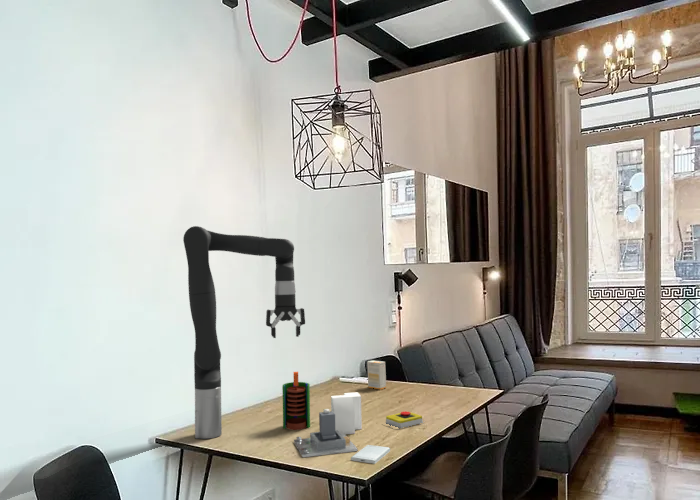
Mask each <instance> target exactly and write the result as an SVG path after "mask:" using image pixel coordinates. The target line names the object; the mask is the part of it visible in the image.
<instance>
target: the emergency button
mask: <svg viewBox="0 0 700 500" xmlns="http://www.w3.org/2000/svg"><path fill="white" fill-rule="evenodd" d="M423 421H424V420H423V416H422V415H420V414H418V413H415V412H411V411H400V412H399V413H394V414H390V415H386V417H385V423H386V424H389V425H390V426H391V425H392V426H395V427H398V428H403V427H407V428H409V427H408V426H411V427H413V426H412V425H415V426H417V425H416V424H419V425H421V424H420V423H423ZM423 424H424V423H423ZM403 429H404V428H403Z"/></svg>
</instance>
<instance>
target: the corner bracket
mask: <svg viewBox="0 0 700 500" xmlns="http://www.w3.org/2000/svg"><path fill="white" fill-rule="evenodd" d="M330 398H331V399H330V405H331V406H330V409H331V410H330V411H332V412H333V413H334V414H335V430H338V431H339V433H340V434H341V435H342V434H345V435H352V434H356V430H362V428H363V427H362V426H363V423H362V421H363V420H362V419H363V418H362V396H361V394H360V392H357V391H356V392H344V393H343V394H341V395H331V396H330Z"/></svg>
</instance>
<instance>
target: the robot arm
mask: <svg viewBox="0 0 700 500" xmlns="http://www.w3.org/2000/svg"><path fill="white" fill-rule="evenodd" d="M182 239H183V244H184V250H185V255H186V260H187V268H188V270H187V271H188V272H187V273H188V275H187V277H188V280H187V281H188V282H187V283H188V284H187V285H188V299H189V300H188V301H189V308H190V309H189V310H190V315H191V318H192V323H193V327H194V333H195V334H194V337H195V338H194V339H195V342H194V343H195V350H194V355H193V360H194V361H193V363H194V365H193V366H194V369H193V371H194V376H193V378H194V439H200V440H201V439H202V440H203V439H206V440H207V439H214V438H218V437H220V436H221V435H222V431H223V430H222V429H223V427H222V424H223V423H222V377H221V359H222V353H221V350H220V345H219V340H218V333H217V297H216V295H217V294H216V287H215V282H214V278H213V275H212V272H211V268H210V260H209V259H210V257H209V256H210V255H209V254H210V253H209V252H213V251H215V252H217V251H219V252H229V253H230V252H231V253H236V254H240V255H241V254H242V255H249V256H250V255H251V256H256V257H257V256H259V257H266V256H268V257H273V258H275V259H274V261H275V270H274V272H275V274H274V275H275V276H274V277H275V279H274V280H275V281H274V282H275V284H274V309H267V310H266V313H265V314H266V317H265V325H266V326H267V327H269V328H270V331H271V333H270V334H271V335H270V336H271V337H272V338H273V339H276V337H277V334H276V333H277V331H276V330H277V329H276V326H277V325H278V324H279V322H280V321H281V322H285V321H287V322H288V321H291V320H292V321H293V323H294V324H295V337H298V338H299V337H300V335H301V326H303V325H305V324H306V318H305V317H306V316H305V315H306V314H305V308H303V307H300V308H297V305H296V290H297V289H296V284H295V268H294V251H295V246H294V243H293V242H292V241H291V240H289V239H286V238H274V237H270V238H268V237H263V236H255V235H245V234H244V235H243V234H225V233H220V232H219V233H218V232H214V231H211V230H208V229H206V228H204V227H201V226H198V225H197V226H196V225H195V226H191V227H189V228H188V229H187V230H185V232H184V234H183V238H182ZM297 313H298V314H299V315H300V317H299V318H300V321H298V319H297V318H296V317H295V316H296V314H297ZM273 314H274V315H275V316H276V317H275V318H274V319H273V321H272V323H271V316H273Z"/></svg>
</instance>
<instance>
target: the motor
mask: <svg viewBox="0 0 700 500" xmlns="http://www.w3.org/2000/svg"><path fill="white" fill-rule="evenodd" d="M281 387H282V389H281V390H282V428H283V429H288V430H289V431H290V430H292V431H299V430H304V429H310V428H311V394H310V393H311V384H310V383H309V382H305V381H304V382H303V381H299V371H293V381H292V382H286V383H283V384H282V386H281Z"/></svg>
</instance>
